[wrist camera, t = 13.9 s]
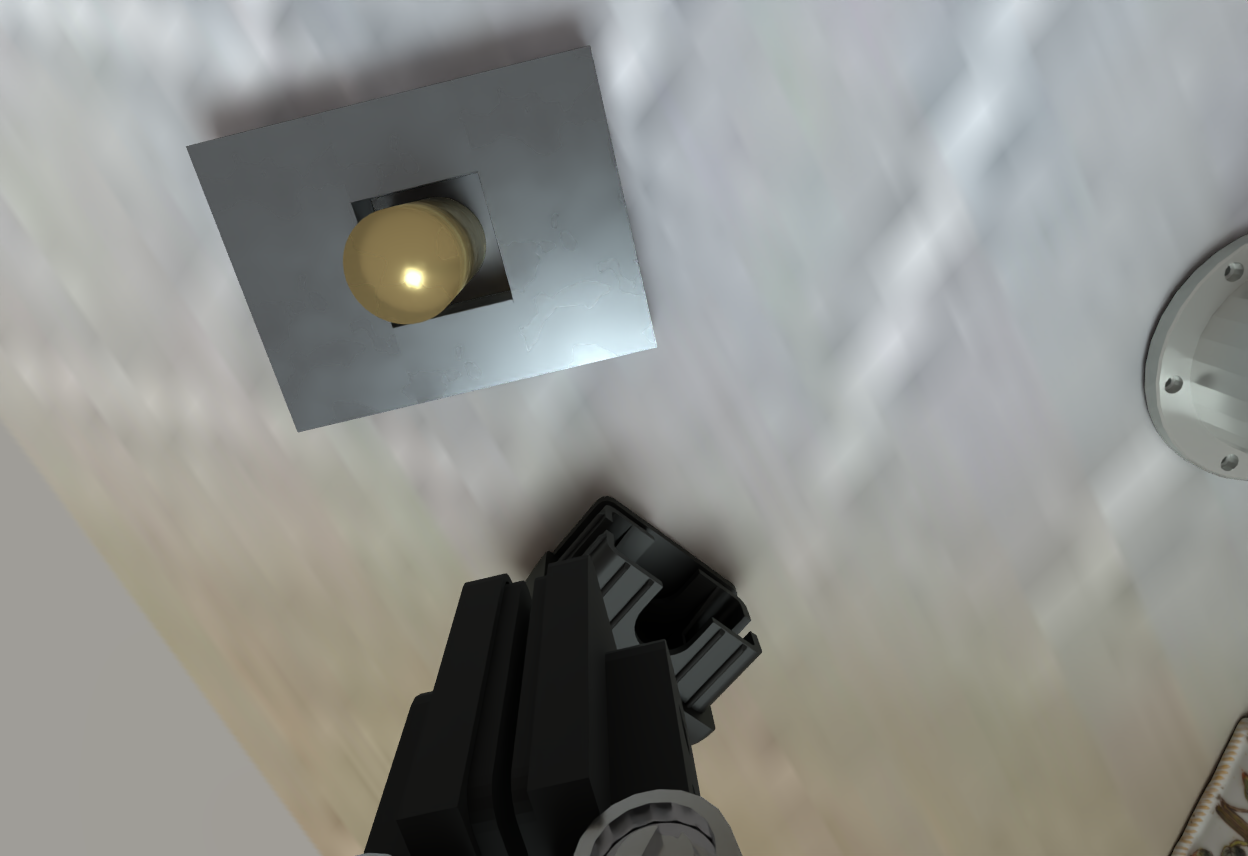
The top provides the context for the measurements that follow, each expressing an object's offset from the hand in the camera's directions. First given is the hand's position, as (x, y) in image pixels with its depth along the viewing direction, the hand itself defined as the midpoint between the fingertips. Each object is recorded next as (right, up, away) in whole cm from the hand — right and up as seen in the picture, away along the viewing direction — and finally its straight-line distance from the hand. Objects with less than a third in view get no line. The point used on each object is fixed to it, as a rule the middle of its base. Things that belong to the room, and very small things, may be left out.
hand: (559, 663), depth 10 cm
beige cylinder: (-7, +11, +24) cm, 28 cm away
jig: (-7, +11, +24) cm, 28 cm away
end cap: (+1, -5, +31) cm, 31 cm away
